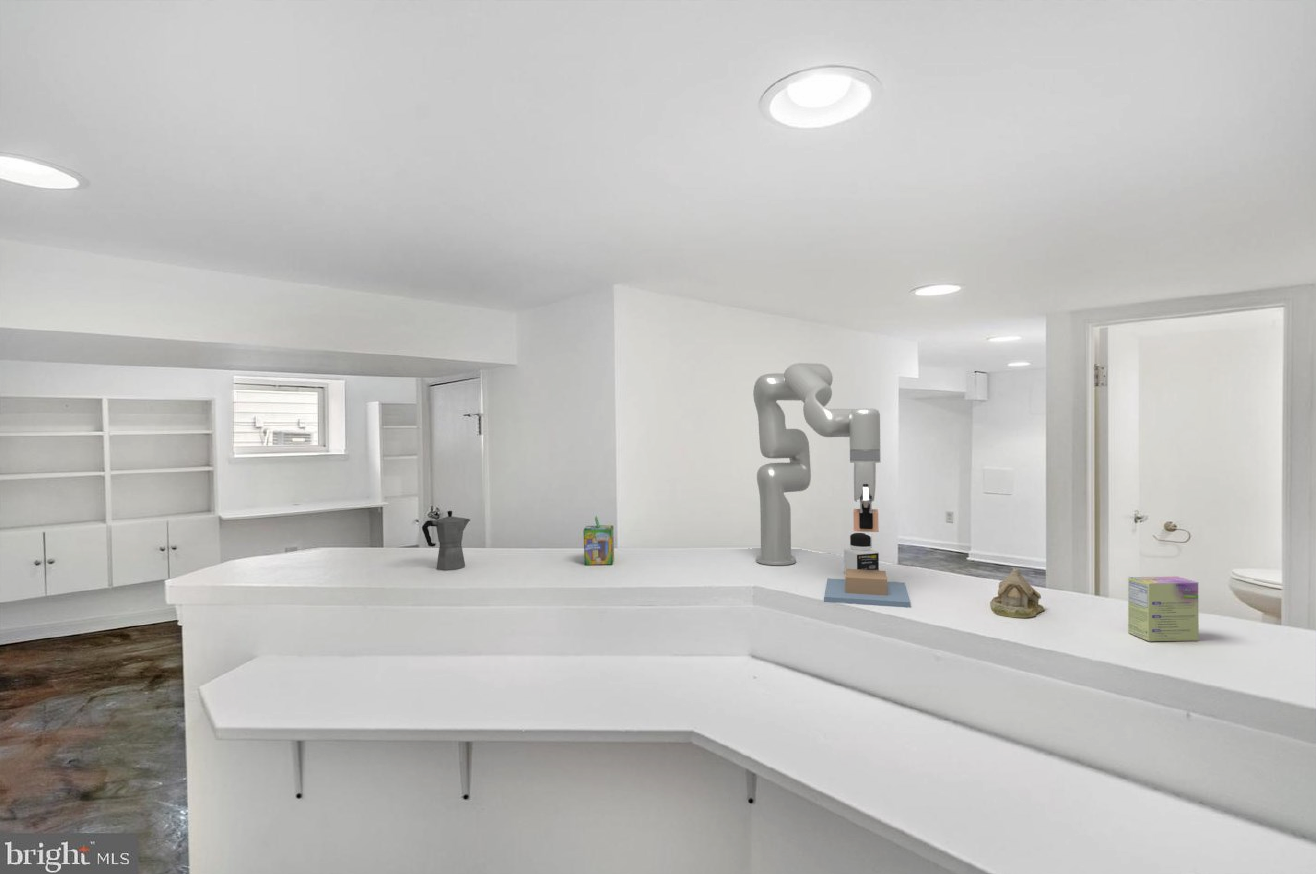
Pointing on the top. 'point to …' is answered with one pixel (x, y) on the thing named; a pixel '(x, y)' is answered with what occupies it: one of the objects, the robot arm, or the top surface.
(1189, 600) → the box
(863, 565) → the medicine bottle
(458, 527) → the coffeepot
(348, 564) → the top surface
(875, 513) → the terracotta block
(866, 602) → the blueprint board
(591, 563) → the chalk box
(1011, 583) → the ceramic model
